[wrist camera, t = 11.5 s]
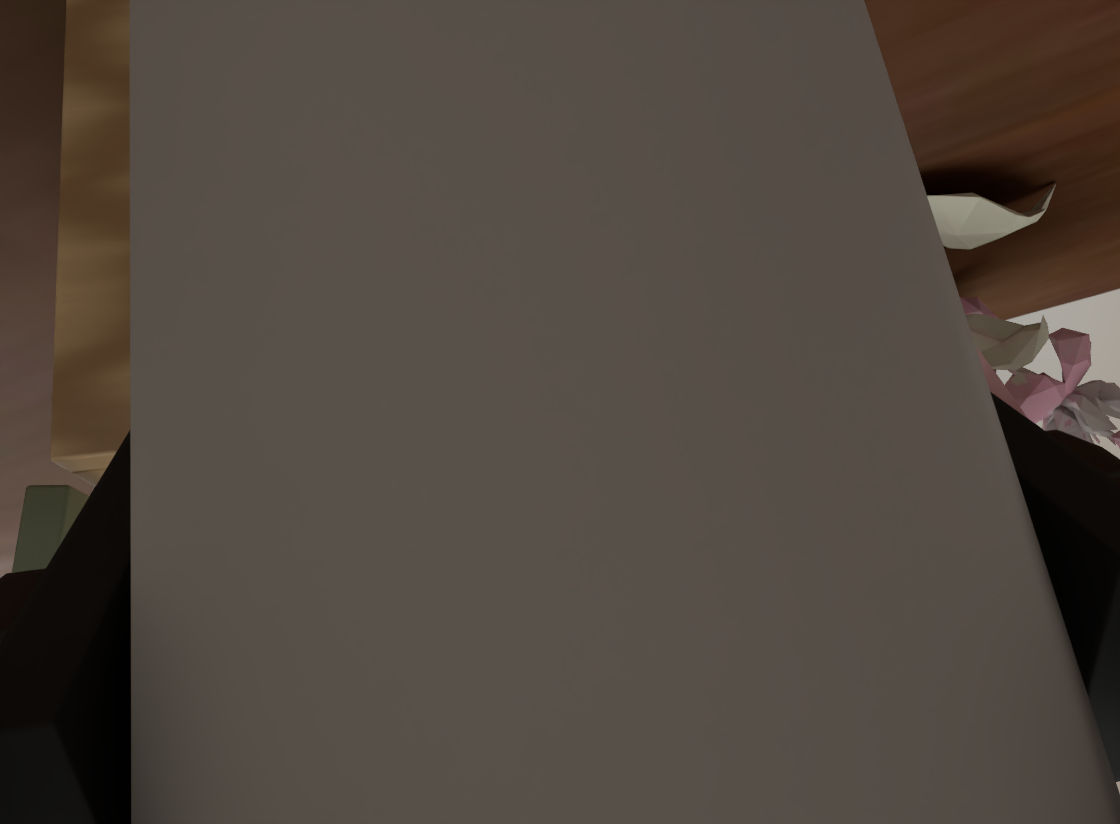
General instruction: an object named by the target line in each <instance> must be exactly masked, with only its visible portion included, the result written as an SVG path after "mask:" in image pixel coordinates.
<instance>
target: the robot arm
mask: <svg viewBox="0 0 1120 824" xmlns="http://www.w3.org/2000/svg"><path fill="white" fill-rule="evenodd" d="M990 393H991V396H992V399H993V402H994V405H995V409H996V412H997V415H998V418H999V421H1000V424H1001V427H1002V430H1003V433H1004V437H1005V440H1006V443H1007V446H1008V449H1009V452H1010V455H1011V458H1012V461H1013V464H1014V468H1015V471H1016V474H1017V477H1018V480H1019V483H1020V486H1021V489H1022V492H1023V496H1024V499H1025V502H1026V505H1027V508H1028V511H1029V514H1030V517H1031V520H1032V523H1033V527H1034V530H1035V533H1036V536H1037V539H1038V542H1039V545H1040V548H1041V551H1042V555H1043V558H1044V561H1045V564H1046V567H1047V570H1048V573H1049V576H1050V579H1051V582H1052V586H1053V589H1054V592H1055V595H1056V598H1057V601H1058V604H1059V607H1060V610H1061V614H1062V617H1063V620H1064V623H1065V626H1066V629H1067V632H1068V635H1069V638H1070V641H1071V645H1072V648H1073V651H1074V654H1075V657H1076V660H1077V663H1078V666H1079V669H1080V673H1081V676H1082V679H1083V682H1084V685H1085V688H1086V691H1087V694H1088V697H1089V700H1090V704H1091V707H1092V710H1093V713H1094V716H1095V719H1096V722H1097V725H1098V728H1099V732H1100V735H1101V738H1102V741H1103V744H1104V747H1105V750H1106V753H1107V756H1108V759H1109V763H1110V766H1111V769H1112V772H1113V775H1114V778H1115V781H1116V782H1118V781H1120V459H1118V458H1117V457H1116V456H1114V455H1113V454H1111V453H1110V452H1108V451H1107V450H1105V449H1104V448H1102V447H1100V446H1098V445H1095V444H1093V443H1090V442H1088V441H1085V440H1083V439H1080V438H1078V437H1075V436H1073V435H1070V434H1068V433H1065V432H1063V431H1060V430H1057V429H1056V430H1048V431H1045V430H1043V429H1042V428H1040V427H1039V426H1038V425H1036V424H1035V423H1033V422H1032V421H1031V420H1029V419H1028V418H1026V417H1025V416H1024V415H1022V414H1021V413H1020V412H1018V411H1017V410H1015V409H1014V408H1013V407H1011V406H1010V405H1008V404H1007V403H1006V402H1004V401H1003V400H1001V399H1000V398H999V397H997V396H996V395H994V394H993V393H992V392H990ZM0 824H131V452H130V431H129V432H128V434H127V435H126V437H125V439H124V440H123V442H122V444H121V445H120V447H119V449H118V450H117V452H116V454H115V455H114V457H113V459H112V460H111V462H110V463H109V465H108V467H107V468H106V470H105V472H104V473H103V475H102V477H101V478H100V480H99V482H98V483H97V485H96V487H95V488H94V490H93V491H92V493H91V495H90V496H89V498H88V500H87V501H86V503H85V505H84V506H83V508H82V510H81V511H80V513H79V514H78V516H77V518H76V519H75V521H74V523H73V524H72V526H71V528H70V529H69V531H68V533H67V534H66V536H65V538H64V539H63V541H62V542H61V544H60V546H59V547H58V549H57V551H56V552H55V554H54V556H53V557H52V559H51V561H50V562H49V564H48V566H47V567H46V568H44V569H37V570H29V571H22V572H15V573H7V574H5V575H4V576H3V577H1V578H0Z"/></svg>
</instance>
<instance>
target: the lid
mask: <svg viewBox="0 0 1120 824" xmlns="http://www.w3.org/2000/svg"><path fill="white" fill-rule="evenodd" d="M88 498H89V496H87V495H86V494H84V493H82V492H80V491H78V490H76V489H75V488H73V487H71V486H69V485H30V486H27V488H26V493H25V499H24V504H23V510H22V516H21V522H20V528H19V534H18V540H17V545H16V551H15V557H14V563H13V569H12V573H15V572H22V571H29V570H37V569H44V568H46V567H47V566H48V564H49V562H50V561H51V559H52V557H53V556H54V554H55V552H56V551H57V549H58V547H59V546H60V544H61V542H62V541H63V539H64V538H65V536H66V534H67V533H68V531H69V529H70V528H71V526H72V524H73V523H74V521H75V519H76V518H77V516H78V514H79V513H80V511H81V510H82V508H83V506H84V505H85V503H86V501H87V500H88Z"/></svg>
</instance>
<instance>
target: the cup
mask: <svg viewBox="0 0 1120 824" xmlns="http://www.w3.org/2000/svg"><path fill="white" fill-rule="evenodd" d="M130 452H131V824H1120V794H1119V791H1118V788H1117V785H1116V781H1115V778H1114V775H1113V772H1112V769H1111V766H1110V763H1109V759H1108V756H1107V753H1106V750H1105V747H1104V744H1103V741H1102V738H1101V735H1100V732H1099V728H1098V725H1097V722H1096V719H1095V716H1094V713H1093V710H1092V707H1091V704H1090V700H1089V697H1088V694H1087V691H1086V688H1085V685H1084V682H1083V679H1082V676H1081V673H1080V669H1079V666H1078V663H1077V660H1076V657H1075V654H1074V651H1073V648H1072V645H1071V641H1070V638H1069V635H1068V632H1067V629H1066V626H1065V623H1064V620H1063V617H1062V614H1061V610H1060V607H1059V604H1058V601H1057V598H1056V595H1055V592H1054V589H1053V586H1052V582H1051V579H1050V576H1049V573H1048V570H1047V567H1046V564H1045V561H1044V558H1043V555H1042V551H1041V548H1040V545H1039V542H1038V539H1037V536H1036V533H1035V530H1034V527H1033V523H1032V520H1031V517H1030V514H1029V511H1028V508H1027V505H1026V502H1025V499H1024V496H1023V492H1022V489H1021V486H1020V483H1019V480H1018V477H1017V474H1016V471H1015V468H1014V464H1013V461H1012V458H1011V455H1010V452H1009V449H1008V446H1007V443H1006V440H1005V437H1004V433H1003V430H1002V427H1001V424H1000V421H999V418H998V415H997V412H996V409H995V405H994V402H993V399H992V396H991V393H990V390H989V387H988V384H987V381H986V378H985V374H984V371H983V368H982V365H981V362H980V359H979V356H978V353H977V350H976V346H975V343H974V340H973V337H972V334H971V331H970V328H969V325H968V322H967V319H966V315H965V312H964V309H963V306H962V303H961V300H960V297H959V294H958V291H957V287H956V284H955V281H954V278H953V275H952V272H951V269H950V266H949V263H948V260H947V256H946V253H945V250H944V247H943V244H942V241H941V238H940V235H939V232H938V228H937V225H936V222H935V219H934V216H933V213H932V210H931V207H930V204H929V201H928V197H927V194H926V191H925V188H924V185H923V182H922V179H921V176H920V173H919V169H918V166H917V163H916V160H915V157H914V154H913V151H912V148H911V145H910V141H909V138H908V135H907V132H906V129H905V126H904V123H903V120H902V117H901V114H900V110H899V107H898V104H897V101H896V98H895V95H894V92H893V89H892V86H891V82H890V79H889V76H888V73H887V70H886V67H885V64H884V61H883V58H882V55H881V51H880V48H879V45H878V42H877V39H876V36H875V33H874V30H873V27H872V23H871V20H870V17H869V14H868V11H867V8H866V5H865V2H864V0H130Z"/></svg>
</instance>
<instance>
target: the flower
mask: <svg viewBox="0 0 1120 824" xmlns="http://www.w3.org/2000/svg"><path fill="white" fill-rule="evenodd" d="M1055 186H1056V184H1054V185H1053V187H1052V188H1051V189H1050V190H1049V191H1048V192H1047V193H1046V194H1045V195H1044V196H1043V197H1042V198H1041V199H1040V200H1039V201H1038V202H1037V203H1036V205H1035V206H1034V207H1033V208H1032V209H1031V210H1030V211H1028V212H1023V213H1018V212H1016V211H1013V210H1011V209H1009V208H1006V207H1004V206H1002V205H1000V204H997V203H995V202H993V201H990V200H988V199H986V198H983V197H981V196H979V195H977V194H974V193H961V194H948V195H935V196H932V195H927V197H928V201H929V204H930V207H931V210H932V213H933V216H934V219H935V222H936V225H937V228H938V232H939V235H940V238H941V241H942V244H943V245H944V246H946V247H948V248H956V249H973V248H975V247H978V246H981V245H983V244H986V243H988V242H991V241H994V240H996V239H999V238H1001V237H1003V236H1006V235H1008V234H1010V233H1012V232H1014V231H1017V230H1019V229H1021V228H1023V227H1025V226H1028V225H1030V224H1032V223H1034V222H1036V221H1038V220H1039V218H1040V217H1041V216H1042V215H1043V214H1044V212H1045V211H1046V209H1047V207H1048V204H1049V201H1050V199H1051V196H1052V193H1053V191H1054V188H1055ZM960 300H961V303H962V306H963V309H964V312H965V315H966V319H967V322H968V325H969V328H970V331H971V334H972V337H973V340H974V343H975V346H976V350H977V353H978V356H979V359H980V362H981V365H982V368H983V371H984V374H985V378H986V381H987V384H988V387H989V390H990V392H992V393H993V394H994V395H996V396H997V397H999V398H1000V399H1001V400H1003V401H1004V402H1006V403H1007V404H1008V405H1010V406H1011V407H1013V408H1014V409H1015V410H1017V411H1018V412H1020V413H1021V414H1022V415H1024V416H1025V417H1026V418H1028V419H1029V420H1031V421H1032V422H1033V423H1037V422H1038V421H1041V420H1043V428H1042V429H1043V430H1045V431H1048V430H1056V429H1057V430H1060V431H1063V432H1065V433H1068V434H1070V435H1073V436H1075V437H1078V438H1080V439H1083V440H1085V441H1088V442H1090V443H1093V440H1092V438H1091V436H1090V434H1091V435H1092V436H1093V437H1094V438H1095V439H1096V441H1097V442H1098V443H1099V442H1100V441H1099V440H1098V438H1097V437H1096V434H1097V435H1100V436H1104V437H1107V438H1108V439H1109V440H1110V441H1111V442H1113V443H1114V444H1115V442H1116V443H1117V445H1118V446H1119V448H1120V431H1118V432H1116V433H1113V432H1112V431H1111V430H1116V429H1117V428H1116V427H1115V425H1114V424H1113V423H1112V422H1111V421H1110V420H1109V417H1108V416H1106V415H1109V416H1112V417H1115V418H1119V419H1120V388H1119V387H1118V386H1117V385H1116V384H1115V383H1106V382H1104V381H1102V380H1097V381H1096V380H1095V381H1090V382H1088V383H1085V384H1082V385H1080V386H1077V385H1078V384H1079V382H1080V381H1081V379H1082V378H1083V376H1084V375H1085V373H1086V372H1087V370H1088V369H1089V367H1090V366H1091V357H1090V356H1091V355H1090V350H1091V342H1090V339H1089V334H1085V333H1081V332H1077V331H1073V330H1069V329H1065V328H1061V329H1059V330H1057V331H1056V332H1053V333H1051V334H1049V332H1048V326H1047V323H1046V321H1045V318H1044V316H1043V317H1042V321H1041V323H1036V324H1031V325H1025V326H1023V325H1020V324H1016V323H1013V322H1009V321H1005V320H1001V319H998V317H997V316H996V315H995V314H994V313H993V312H992V311H991V310H990V309H989V308H988V307H987V306H986V305H985V304H984V303H983V302H982V301H981V300H980V299H979V298H978V297H961V298H960ZM1049 338H1050V340H1051V342H1052V345H1053V347H1054V349H1055V351H1056V353H1057V356H1058V358H1059V360H1060V363H1061V367H1062V378H1063V382H1060V381H1058V380H1055V379H1053V378H1051V377H1050V376H1048V375H1047V374H1045V373H1041V374H1036V373H1034V372H1032V371H1030V370H1028V369H1026V368H1023V366H1025V365H1027V364H1029V363H1031V362H1032V361H1033V359H1034V358H1035V357H1036V355H1037V354H1038V353H1039V351H1040V350H1041V349H1042V347H1043V346H1044V344H1045V343H1046V342H1047V340H1048V339H1049ZM996 369H998V370H999V369H1000V370H1008V371H1010V372H1011V373H1012V374H1013V375H1012V376H1011V377H1010V379H1009V380H1008V381H1007V382H1006V384H1005V385H1004V384H1003V383H1002V381H1001V380H1000V378H999V377H998V376H997V374H996ZM1089 433H1090V434H1089ZM1093 444H1094V443H1093ZM1115 445H1116V444H1115Z"/></svg>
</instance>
